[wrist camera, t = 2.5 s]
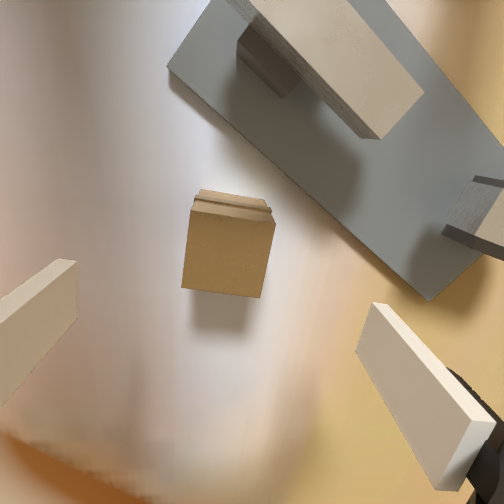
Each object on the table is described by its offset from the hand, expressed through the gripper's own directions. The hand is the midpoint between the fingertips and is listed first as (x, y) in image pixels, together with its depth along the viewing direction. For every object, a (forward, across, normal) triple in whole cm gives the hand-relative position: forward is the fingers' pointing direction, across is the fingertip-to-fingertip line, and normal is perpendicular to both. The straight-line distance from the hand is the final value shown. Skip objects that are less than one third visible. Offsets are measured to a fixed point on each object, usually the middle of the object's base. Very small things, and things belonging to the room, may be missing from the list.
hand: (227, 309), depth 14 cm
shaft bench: (+12, +9, +9) cm, 18 cm away
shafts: (+8, +10, +10) cm, 16 cm away
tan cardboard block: (+13, 0, 0) cm, 13 cm away
